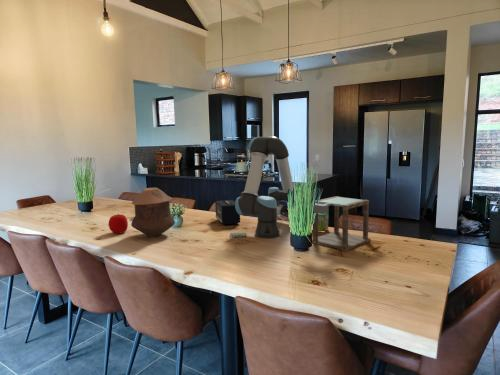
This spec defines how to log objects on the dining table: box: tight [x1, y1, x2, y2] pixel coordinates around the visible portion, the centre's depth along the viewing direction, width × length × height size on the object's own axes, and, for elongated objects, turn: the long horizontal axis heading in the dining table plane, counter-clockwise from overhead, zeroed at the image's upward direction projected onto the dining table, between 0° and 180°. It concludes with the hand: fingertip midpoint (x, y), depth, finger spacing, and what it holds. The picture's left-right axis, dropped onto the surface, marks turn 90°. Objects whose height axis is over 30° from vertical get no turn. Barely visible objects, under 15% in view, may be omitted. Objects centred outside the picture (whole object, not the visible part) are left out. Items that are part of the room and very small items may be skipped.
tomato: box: [108, 213, 129, 235], centre depth 220 cm, size 12×12×13 cm
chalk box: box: [318, 212, 329, 232], centre depth 216 cm, size 9×9×15 cm
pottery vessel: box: [130, 187, 176, 238], centre depth 211 cm, size 26×26×30 cm
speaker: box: [215, 199, 241, 226], centre depth 243 cm, size 22×13×15 cm, turn 17°
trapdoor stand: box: [311, 195, 371, 252], centre depth 191 cm, size 25×23×24 cm
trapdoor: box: [314, 196, 363, 214], centre depth 184 cm, size 36×16×4 cm, turn 132°
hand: (308, 215), depth 223 cm, fingers open, 13 cm apart
